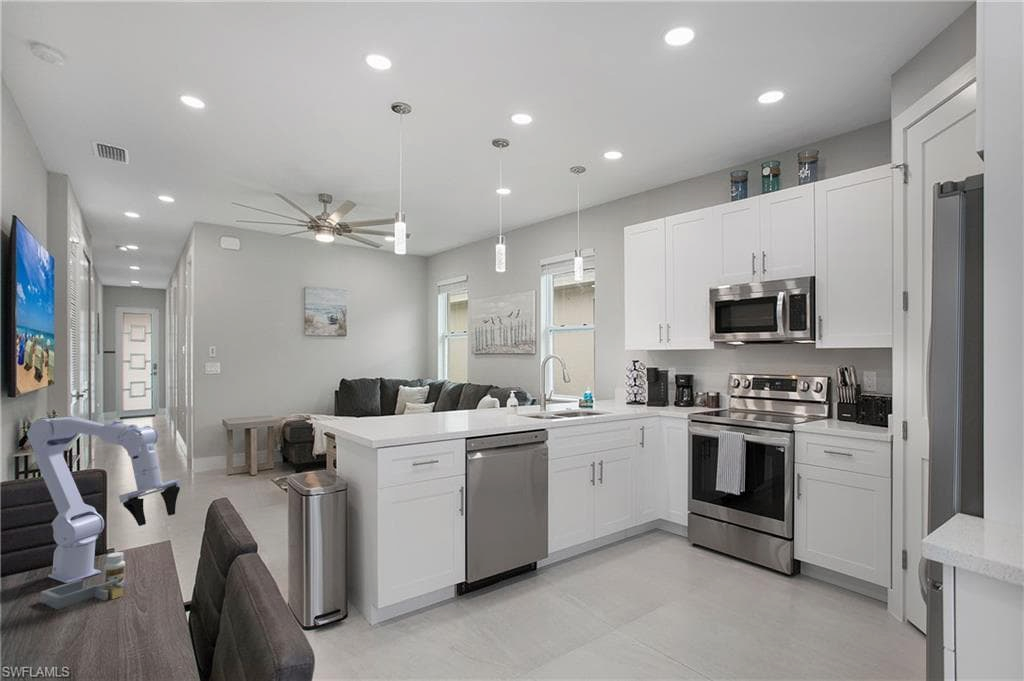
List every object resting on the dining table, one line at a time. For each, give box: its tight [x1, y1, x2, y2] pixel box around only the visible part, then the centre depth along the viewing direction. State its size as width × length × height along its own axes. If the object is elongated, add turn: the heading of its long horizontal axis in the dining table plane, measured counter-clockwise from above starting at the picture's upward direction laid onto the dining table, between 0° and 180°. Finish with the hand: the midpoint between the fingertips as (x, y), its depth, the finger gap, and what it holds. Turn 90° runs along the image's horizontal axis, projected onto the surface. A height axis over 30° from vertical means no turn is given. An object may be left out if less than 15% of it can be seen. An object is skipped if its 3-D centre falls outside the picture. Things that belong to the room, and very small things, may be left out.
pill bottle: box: [102, 551, 126, 586], centre depth 133 cm, size 4×4×8 cm
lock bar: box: [102, 585, 124, 600], centre depth 127 cm, size 6×2×2 cm, turn 66°
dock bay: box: [39, 578, 126, 610], centre depth 125 cm, size 12×12×3 cm
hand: (157, 519), depth 137 cm, fingers open, 7 cm apart
